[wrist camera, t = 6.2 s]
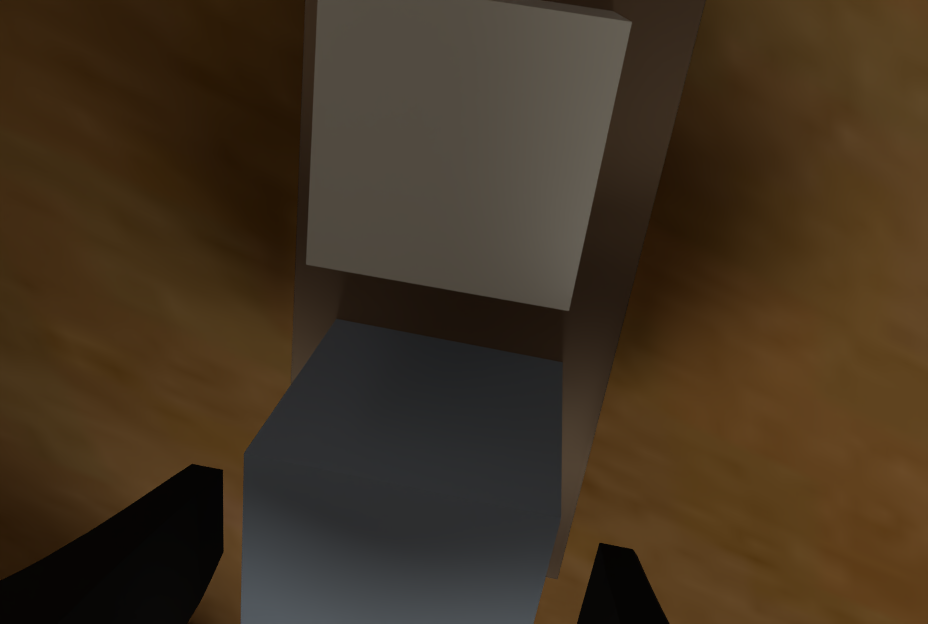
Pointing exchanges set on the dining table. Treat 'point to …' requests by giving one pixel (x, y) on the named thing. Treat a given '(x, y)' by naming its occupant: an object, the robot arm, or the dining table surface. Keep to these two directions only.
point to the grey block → (460, 141)
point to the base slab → (602, 259)
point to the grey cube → (404, 485)
